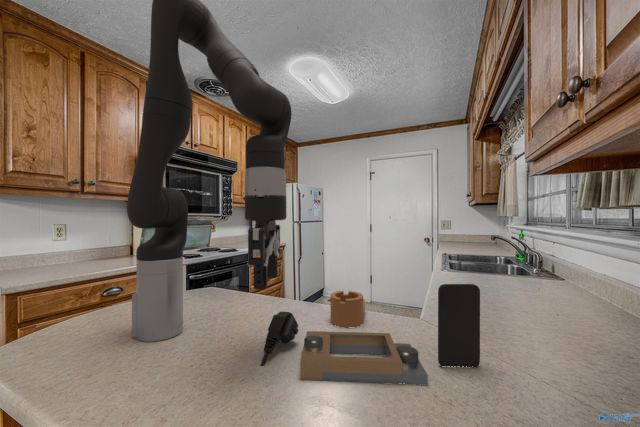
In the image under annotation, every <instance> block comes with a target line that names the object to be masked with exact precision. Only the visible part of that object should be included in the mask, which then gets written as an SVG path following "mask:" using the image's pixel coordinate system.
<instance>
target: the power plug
mask: <svg viewBox="0 0 640 427" xmlns="http://www.w3.org/2000/svg"><path fill="white" fill-rule="evenodd" d="M298 328H299V324H298V322H297V319H296V318H295V315H294V314H293V313H292V312H289V311H279V312H277V314H273V316H272V318H271V320H270V323H269V326H268V328H267V331H268V332H267V334H266V338H265V342H264V343H265V344H264V347H263V352H264V355H263V357H262V361H261V362H260V365H259V366H260V367H264V366H265V365H266V363H267V360H268V357H269V355H271V354H273V352H274V350H275V348H276V347H277V345H278V344H280V342H281V343H282V344H283V345H284V344H289V343H290V342H292V341H293V340H295V339H296V338H297V336H296V335H298V332H299V329H298Z"/></svg>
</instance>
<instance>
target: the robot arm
mask: <svg viewBox="0 0 640 427" xmlns="http://www.w3.org/2000/svg"><path fill="white" fill-rule="evenodd" d="M179 40H180V41H181V42H183V43H185V44H187V45H189V46H191V47H193V48H195V49H196V50H197V51H199V52H200V53H201V54H203V55H204V56H205V57H206V62H207V64H208V67H209V70H210V71H211V72H212V74H213V76H214V77H215V78H216V79H217V81H218V82H219V83H220V84H221V85H222V86H223V87H224V88H225V90H226V91H227V93H228V95H229V98H230V100H231V102H232V104H233V106H234V108H235V109H236V110H237V112H239V114H241V115H242V116H243V117H245V119H247V120H249V121H252V122H254V123H256V124H260V132H259V134H256V135H252V136H250V137H248V138H247V140H246V143H245V176H244V219H245V220H246V221H250V222H255V224H254V227H249V228H248V230H247V233H248V237H247V238H248V239H247V247H248V249H247V264H248V266H251V268H253V269H252V270H253V289H254V290H264V291H265V290H266V289H267V288H268V285H269V284H268V279H275V278H277V277H278V273H279V271H278V268H279V266H278V262H279V261H278V258H279V257H280V253H281V251H282V249H281V225H280V224H276V221H285V220H286V219H287V216H288V215H287V179H286V172H285V169H286V166H285V160H286V158H285V147H286V143H287V140H288V136H289V130H290V127H291V121H292V114H293V113H292V106H291V103H290V100H289V98H288V97H287V95H286V94H285V93H283V92H282V91H281V90H280V89H277V88H276V87H274V86H273V85H271V84H270V83H268V82H267V81H265V80H264V79H262V78H261V77H260V73H259V71H258V69H257V68H256V66H255V65H254V64H253V63H252V62H251V60H249V59H248V58H247V56H246V55H245V54H244V53H243V52H242V51H240V49H239V48H238V47H237V46H236V45H235V44H234V43H232V41H230V40H229V38H227V36H226V34H225V33H224V32H223V30H222V29H221V28H220V26H219V24H218V22H217V21H216V19H215V17H214V16H213V14H212V12H211V11H210V10H209V8H208V6H206V5H205V4H204V3H203V2H202V1H201V0H152V4H151V14H150V47H149V48H150V49H149V51H150V53H149V65H148V75H147V81H146V88H145V89H146V90H145V93H144V99H143V109H142V115H141V116H142V119H141V130H140V137H139V144H138V149H137V157H136V159H135V160H136V162H135V166H134V168H133V174H132V176H131V182H130V185H129V189H128V195H127V202H126V213H127V218H128V220H129V222H130V224H132V226H133V227H136V228H137V229H154V234H152V237H150V238H149V239H148V240H146V241H145V242H143V243H142V244H140V245H139V246H137V248H136V257H135V258H136V291H135V292H134V293H133V294H132V295H131V339H136V340H138V341H140V342H143V343H144V342H147V343H150V342H151V343H152V342H153V343H154V342H158V341H159V342H160V341H165V340H169V339H171V338H174V337H176V336H178V335H181V333H182V332H183V330H184V248H185V247H186V243H187V239H188V238H187V236H188V220H189V219H188V218H189V207H188V201H187V197H186V196H185V195H184V193H183V192H182V191H181V190H179V189H176V188H173V187H172V188H171V187H163V182H164V175H165V172H166V168H167V166H168V163H169V161H171V158H172V157H173V156H174V155H175V153H176V152H177V151H178V150H179V149H180V147H181V146H182V145H183V143H184V142H185V140H186V139H187V137H188V135H189V132H190V130H191V129H190V128H191V122H192V121H191V120H192V113H193V97H192V93H191V90H190V87H189V84H188V82H187V79H186V76H185V74H184V69H183V67H182V65H181V61H180V60H181V59H180V54H179Z"/></svg>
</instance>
